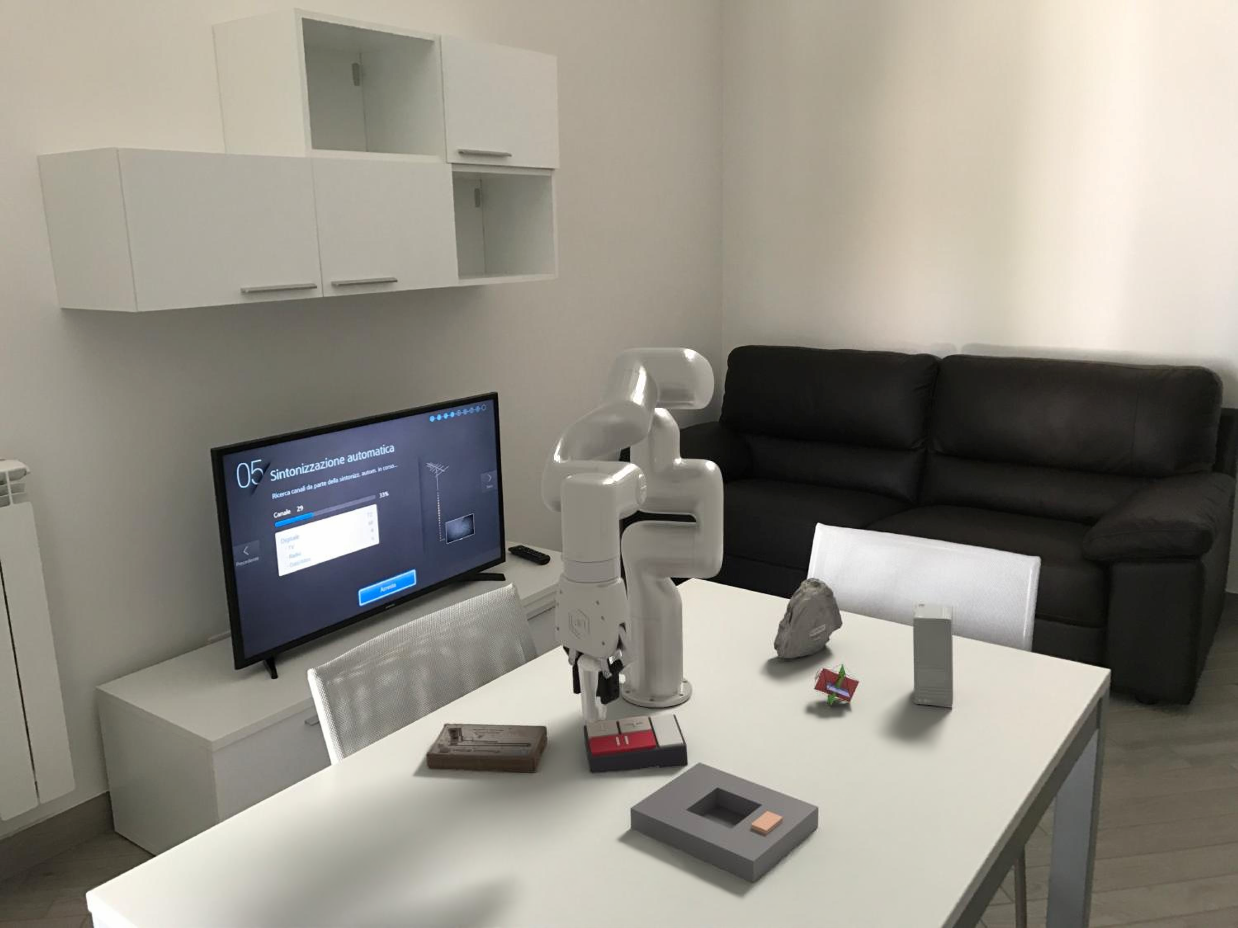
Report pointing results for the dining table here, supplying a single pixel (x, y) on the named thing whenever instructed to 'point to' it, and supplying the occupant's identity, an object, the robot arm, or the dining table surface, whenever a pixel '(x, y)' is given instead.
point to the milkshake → (591, 688)
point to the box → (488, 747)
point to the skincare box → (933, 654)
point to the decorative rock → (808, 620)
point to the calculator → (635, 744)
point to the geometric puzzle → (835, 684)
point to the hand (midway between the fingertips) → (596, 694)
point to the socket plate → (725, 820)
